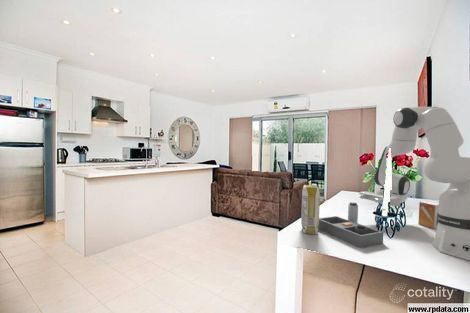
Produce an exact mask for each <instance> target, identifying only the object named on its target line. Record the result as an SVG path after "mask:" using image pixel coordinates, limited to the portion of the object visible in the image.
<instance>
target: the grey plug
mask: <svg viewBox="0 0 470 313" xmlns="http://www.w3.org/2000/svg"><path fill="white" fill-rule="evenodd" d="M347 206H348V208H347V210H348V211H347V220H349V221H352V222H355V223H358V224H359V222H358V219H359V205H358V203H356V202H352V201H351V202H349V203H348V205H347Z"/></svg>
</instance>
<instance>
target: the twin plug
mask: <svg viewBox="0 0 470 313" xmlns="http://www.w3.org/2000/svg"><path fill="white" fill-rule="evenodd" d="M365 226H366V225H364V226H363V224H361V225H357V226H356V227H355V233H357V234H359V235H364V234H367V228H366V227H365Z"/></svg>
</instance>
